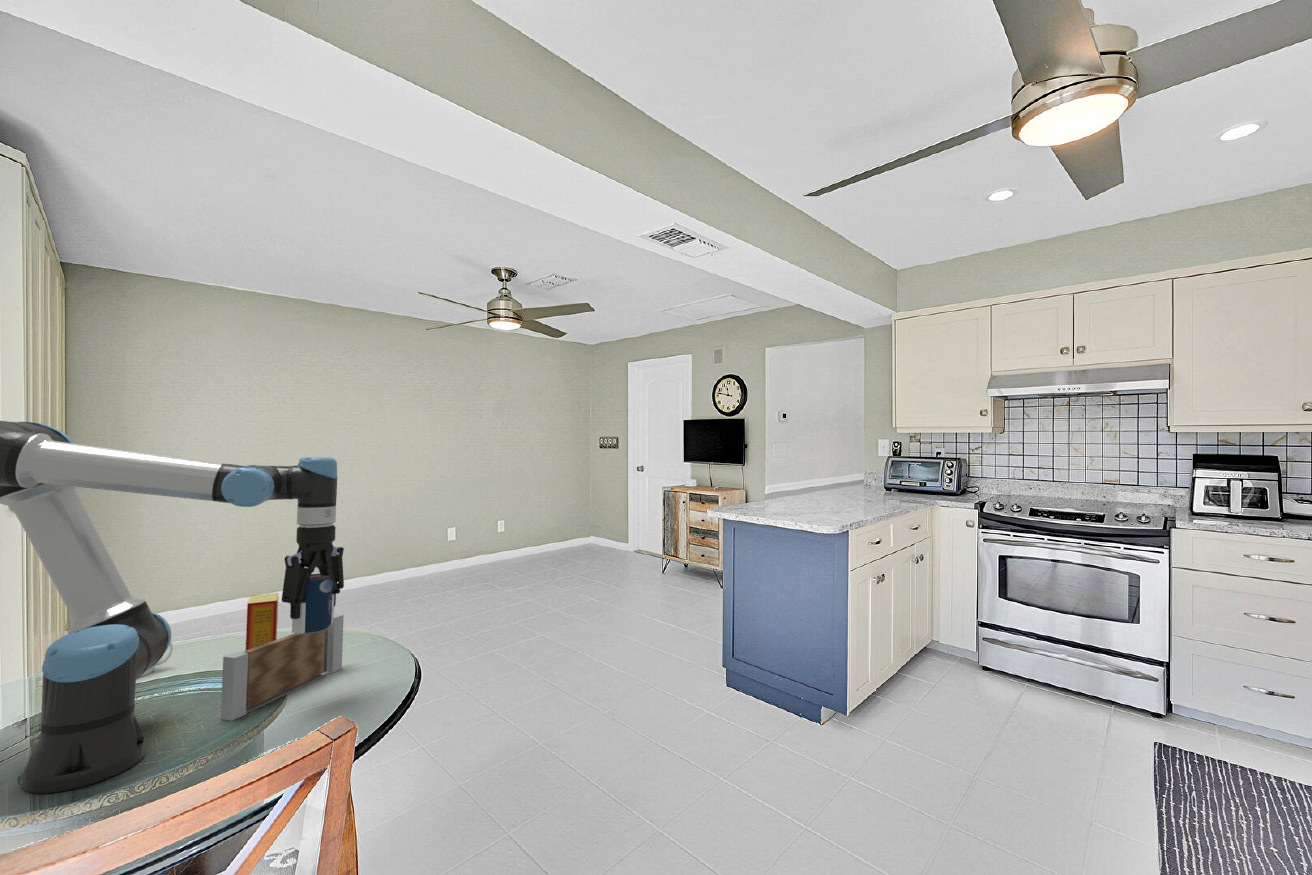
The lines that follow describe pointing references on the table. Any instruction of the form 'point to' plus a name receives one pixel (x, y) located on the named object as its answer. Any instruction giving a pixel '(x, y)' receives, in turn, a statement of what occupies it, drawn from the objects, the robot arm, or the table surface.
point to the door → (284, 664)
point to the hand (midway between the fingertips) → (313, 627)
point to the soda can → (318, 603)
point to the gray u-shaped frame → (237, 692)
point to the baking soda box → (261, 620)
